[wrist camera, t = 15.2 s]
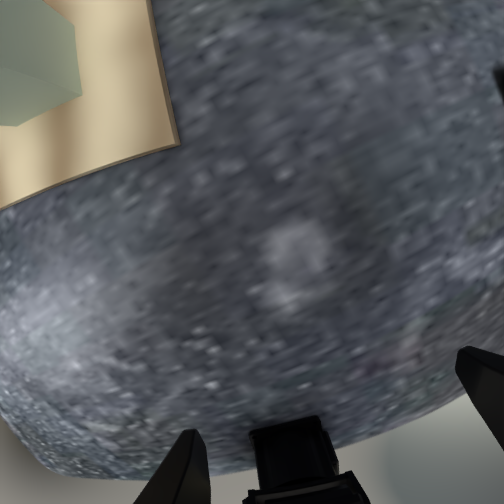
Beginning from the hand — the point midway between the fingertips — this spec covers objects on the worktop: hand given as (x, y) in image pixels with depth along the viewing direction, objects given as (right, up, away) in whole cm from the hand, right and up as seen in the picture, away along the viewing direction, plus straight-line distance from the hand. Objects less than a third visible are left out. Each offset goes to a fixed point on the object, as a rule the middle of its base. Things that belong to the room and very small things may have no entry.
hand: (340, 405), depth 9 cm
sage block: (-15, +15, +5) cm, 22 cm away
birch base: (-15, +16, +7) cm, 23 cm away
